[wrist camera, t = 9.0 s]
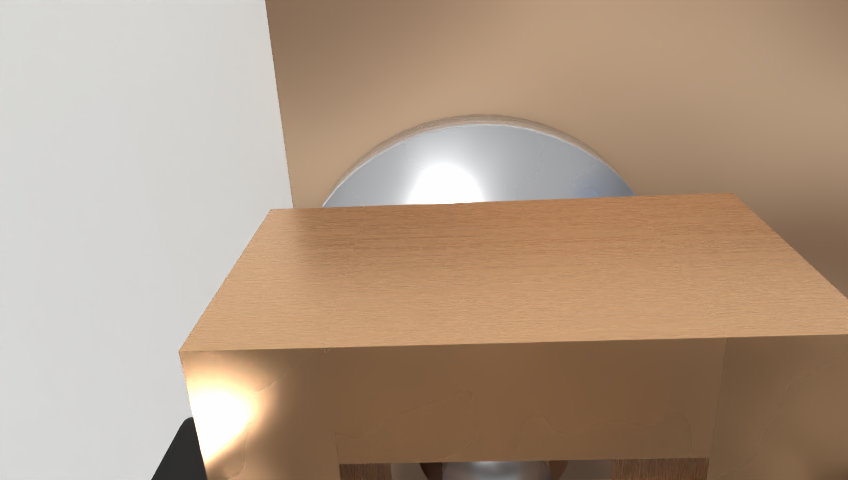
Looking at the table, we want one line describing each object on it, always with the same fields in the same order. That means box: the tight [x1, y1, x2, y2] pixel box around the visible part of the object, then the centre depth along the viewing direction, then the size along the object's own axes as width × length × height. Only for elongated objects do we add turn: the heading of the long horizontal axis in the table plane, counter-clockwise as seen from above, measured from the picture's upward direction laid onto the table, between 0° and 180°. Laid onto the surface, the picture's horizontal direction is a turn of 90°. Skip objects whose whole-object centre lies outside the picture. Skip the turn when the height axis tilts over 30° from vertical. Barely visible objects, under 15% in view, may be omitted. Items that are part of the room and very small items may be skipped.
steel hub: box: [320, 114, 637, 480], centre depth 13 cm, size 8×8×6 cm
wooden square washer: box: [179, 193, 848, 480], centre depth 10 cm, size 7×7×4 cm
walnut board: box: [265, 0, 848, 480], centre depth 14 cm, size 14×19×6 cm
